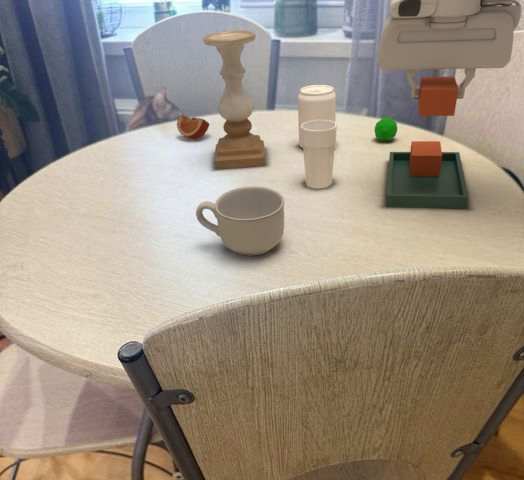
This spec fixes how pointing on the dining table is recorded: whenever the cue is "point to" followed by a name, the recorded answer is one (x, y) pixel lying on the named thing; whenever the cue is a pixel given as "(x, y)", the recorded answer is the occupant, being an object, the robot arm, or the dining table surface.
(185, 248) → the dining table surface
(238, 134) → the candle holder
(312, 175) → the cup
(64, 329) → the dining table surface
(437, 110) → the orange block
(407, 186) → the tray
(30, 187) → the dining table surface
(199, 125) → the fruit slice
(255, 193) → the teacup
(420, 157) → the orange rectangular block
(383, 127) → the polyhedron
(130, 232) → the dining table surface
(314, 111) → the beverage can
